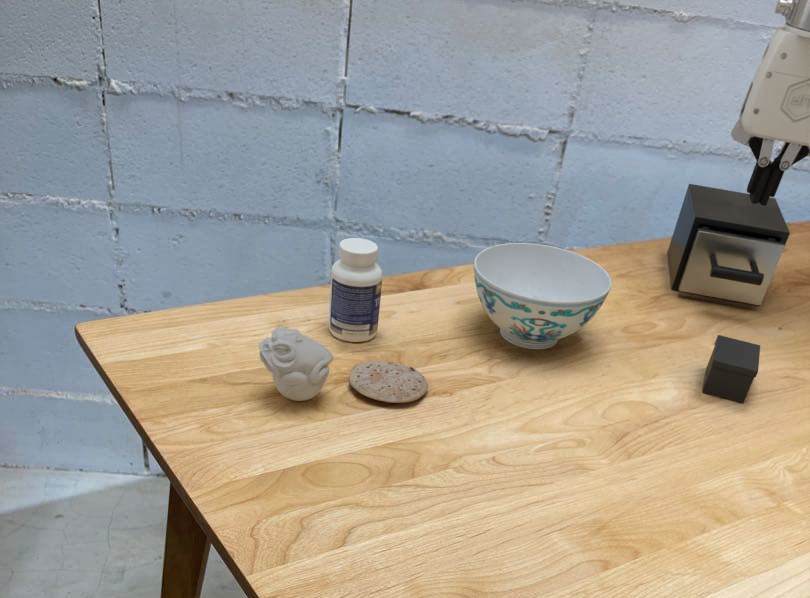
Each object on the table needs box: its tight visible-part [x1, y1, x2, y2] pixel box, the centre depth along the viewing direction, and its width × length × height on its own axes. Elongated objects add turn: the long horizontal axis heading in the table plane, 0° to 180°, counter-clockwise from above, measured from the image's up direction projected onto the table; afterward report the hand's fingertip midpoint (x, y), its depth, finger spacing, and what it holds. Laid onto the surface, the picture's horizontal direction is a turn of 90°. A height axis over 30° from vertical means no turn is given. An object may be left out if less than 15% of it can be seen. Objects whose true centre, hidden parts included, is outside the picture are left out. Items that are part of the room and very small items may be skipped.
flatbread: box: [348, 360, 429, 404], centre depth 84 cm, size 8×8×1 cm
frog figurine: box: [257, 325, 334, 402], centre depth 79 cm, size 6×7×7 cm
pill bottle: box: [328, 237, 383, 343], centre depth 89 cm, size 5×5×10 cm
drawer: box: [678, 224, 786, 306], centre depth 107 cm, size 17×10×8 cm, turn 169°
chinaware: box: [473, 242, 613, 350], centre depth 93 cm, size 15×15×8 cm
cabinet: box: [667, 183, 791, 306], centre depth 111 cm, size 13×12×10 cm
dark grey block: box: [701, 334, 761, 404], centre depth 91 cm, size 6×5×4 cm
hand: (757, 200), depth 98 cm, fingers closed
